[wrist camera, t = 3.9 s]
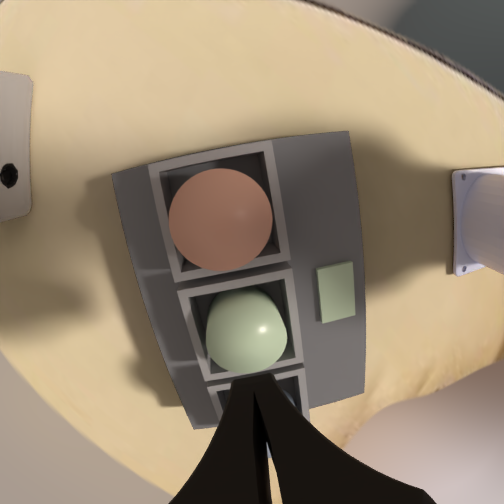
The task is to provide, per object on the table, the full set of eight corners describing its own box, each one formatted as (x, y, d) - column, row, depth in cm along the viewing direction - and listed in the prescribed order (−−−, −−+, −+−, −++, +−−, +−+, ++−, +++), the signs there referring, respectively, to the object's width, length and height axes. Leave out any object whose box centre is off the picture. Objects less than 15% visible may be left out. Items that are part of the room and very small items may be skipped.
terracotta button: (255, 162, 12) (262, 159, 10) (269, 244, 13) (279, 260, 11) (170, 179, 12) (158, 180, 10) (188, 260, 13) (181, 279, 11)
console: (331, 135, 17) (365, 126, 12) (351, 372, 21) (375, 410, 17) (126, 173, 16) (96, 174, 12) (195, 406, 20) (192, 450, 16)
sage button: (272, 278, 15) (281, 297, 13) (282, 339, 16) (291, 364, 14) (200, 292, 15) (196, 313, 13) (216, 352, 16) (216, 379, 14)
